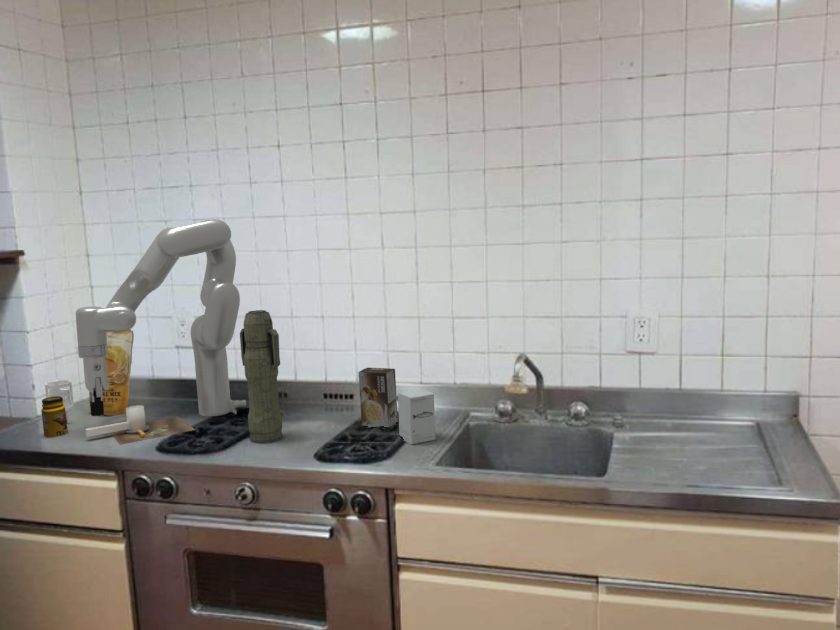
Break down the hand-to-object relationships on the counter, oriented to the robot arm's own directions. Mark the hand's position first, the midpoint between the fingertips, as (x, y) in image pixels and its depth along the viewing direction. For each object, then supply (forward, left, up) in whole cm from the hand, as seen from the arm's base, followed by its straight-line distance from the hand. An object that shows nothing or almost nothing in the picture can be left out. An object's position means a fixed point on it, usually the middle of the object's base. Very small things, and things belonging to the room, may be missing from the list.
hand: (97, 414), depth 201 cm
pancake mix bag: (-8, -25, -7) cm, 28 cm away
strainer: (+7, -18, -7) cm, 21 cm away
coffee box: (-67, +44, -7) cm, 80 cm away
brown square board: (-12, +8, -7) cm, 16 cm away
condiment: (+11, -6, -7) cm, 15 cm away
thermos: (-37, +34, -7) cm, 50 cm away
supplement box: (-68, +62, -7) cm, 92 cm away
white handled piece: (-4, +9, -5) cm, 11 cm away
